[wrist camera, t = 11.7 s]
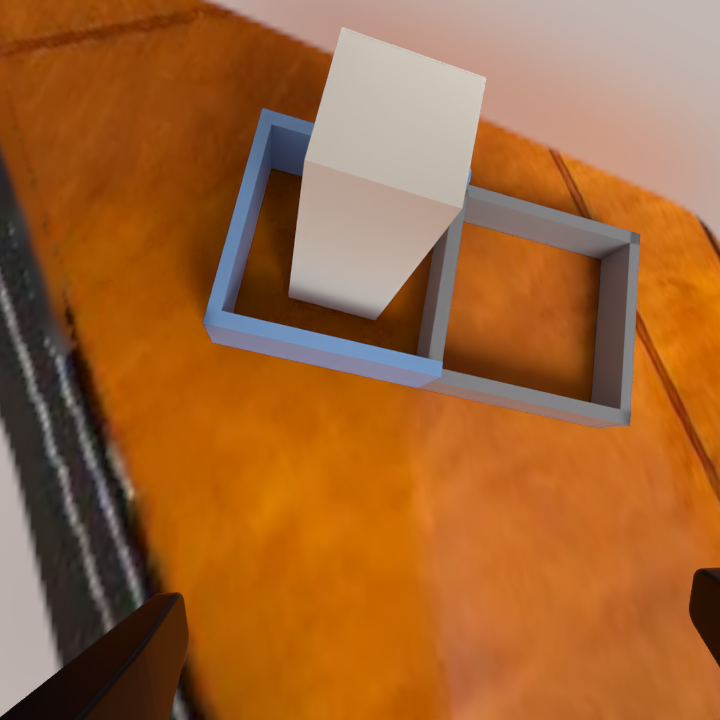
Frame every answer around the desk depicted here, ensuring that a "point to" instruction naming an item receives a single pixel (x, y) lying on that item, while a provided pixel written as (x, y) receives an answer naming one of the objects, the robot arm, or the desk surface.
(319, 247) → the white rectangular block
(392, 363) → the organizer
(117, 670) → the robot arm
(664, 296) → the desk surface
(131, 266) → the desk surface
